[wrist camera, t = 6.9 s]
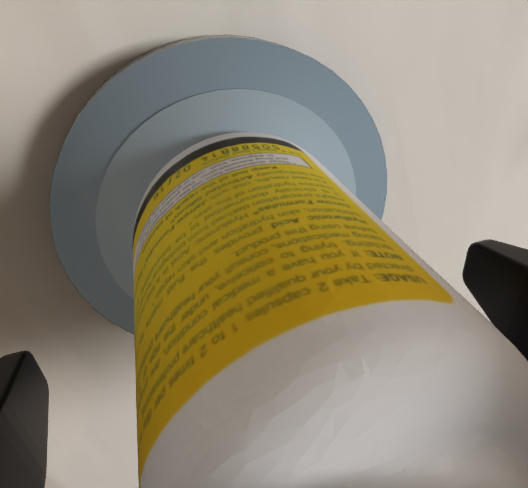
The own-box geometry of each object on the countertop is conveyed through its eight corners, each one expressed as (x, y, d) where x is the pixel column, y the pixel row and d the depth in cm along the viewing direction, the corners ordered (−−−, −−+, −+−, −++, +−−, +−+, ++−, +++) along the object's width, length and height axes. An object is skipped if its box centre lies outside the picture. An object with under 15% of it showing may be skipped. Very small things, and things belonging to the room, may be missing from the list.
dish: (362, 292, 15) (376, 311, 14) (111, 355, 14) (109, 381, 13) (381, 15, 10) (405, 17, 9) (-8, 59, 9) (-24, 68, 8)
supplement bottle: (88, 257, 10) (-46, 1207, 2) (220, 77, 9) (1015, 825, 1) (249, 331, 13) (443, 870, 5) (368, 202, 12) (879, 655, 4)
